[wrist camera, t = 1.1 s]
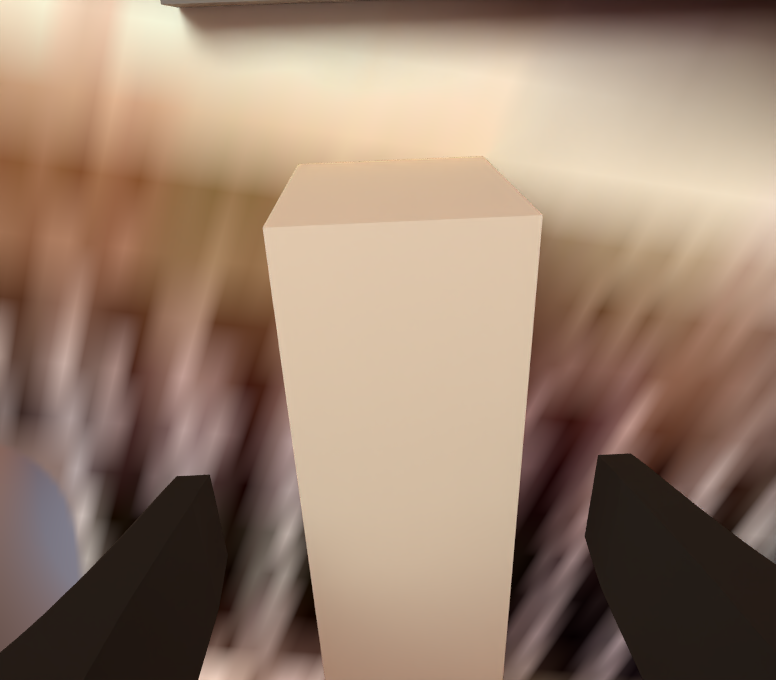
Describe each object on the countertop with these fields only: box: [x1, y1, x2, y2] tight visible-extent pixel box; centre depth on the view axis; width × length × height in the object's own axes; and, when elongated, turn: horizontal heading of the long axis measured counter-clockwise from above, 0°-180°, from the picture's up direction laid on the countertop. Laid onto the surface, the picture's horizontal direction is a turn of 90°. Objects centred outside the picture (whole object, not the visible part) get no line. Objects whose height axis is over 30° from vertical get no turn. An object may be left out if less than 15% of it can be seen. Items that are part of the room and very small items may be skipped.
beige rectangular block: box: [263, 156, 543, 680], centre depth 13 cm, size 11×4×5 cm, turn 2°
